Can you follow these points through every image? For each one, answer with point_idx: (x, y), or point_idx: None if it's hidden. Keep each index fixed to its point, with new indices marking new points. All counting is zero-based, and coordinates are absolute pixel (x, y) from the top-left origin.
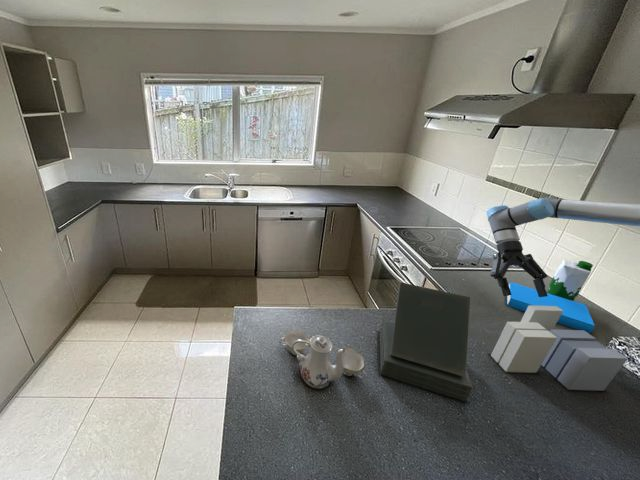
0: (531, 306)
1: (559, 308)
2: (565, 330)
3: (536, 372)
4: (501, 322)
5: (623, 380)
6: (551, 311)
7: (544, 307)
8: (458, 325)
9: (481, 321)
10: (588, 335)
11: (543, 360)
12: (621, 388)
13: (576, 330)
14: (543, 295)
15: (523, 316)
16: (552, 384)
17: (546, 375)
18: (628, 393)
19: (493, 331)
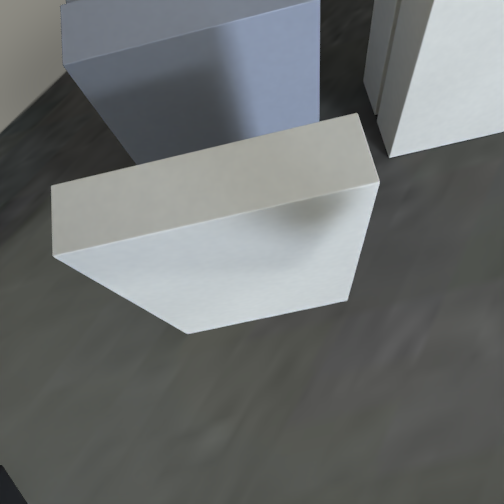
0: (359, 168)
1: (56, 219)
2: (210, 21)
3: (363, 79)
4: (339, 452)
5: (16, 144)
6: (177, 160)
7: (215, 190)
8: None
9: (488, 429)
10: (84, 17)
11: (373, 17)
12: (65, 102)
13: (122, 47)
14: (8, 496)
15: (362, 238)
16: (331, 43)
17: (325, 80)
18: (63, 86)
19: (443, 331)
